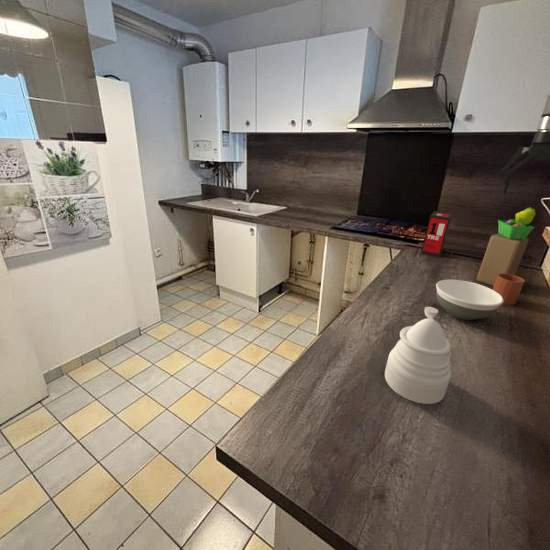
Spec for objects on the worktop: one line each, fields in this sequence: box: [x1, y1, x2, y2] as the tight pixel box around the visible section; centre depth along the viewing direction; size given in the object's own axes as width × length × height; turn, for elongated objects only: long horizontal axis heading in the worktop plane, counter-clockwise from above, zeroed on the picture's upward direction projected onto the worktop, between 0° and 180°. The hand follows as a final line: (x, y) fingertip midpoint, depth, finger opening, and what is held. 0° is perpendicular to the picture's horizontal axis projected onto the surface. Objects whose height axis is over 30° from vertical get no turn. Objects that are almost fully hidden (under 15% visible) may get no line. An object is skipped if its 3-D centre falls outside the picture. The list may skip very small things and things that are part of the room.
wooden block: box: [476, 233, 529, 287], centre depth 118 cm, size 10×10×20 cm
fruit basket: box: [497, 207, 537, 240], centre depth 111 cm, size 11×9×11 cm
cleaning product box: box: [420, 210, 454, 258], centre depth 154 cm, size 16×9×20 cm, turn 147°
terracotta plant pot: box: [491, 273, 526, 306], centre depth 105 cm, size 8×8×9 cm
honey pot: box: [384, 306, 452, 405], centre depth 63 cm, size 13×13×18 cm
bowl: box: [435, 279, 503, 321], centre depth 95 cm, size 19×19×8 cm
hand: (526, 195), depth 107 cm, fingers open, 13 cm apart
